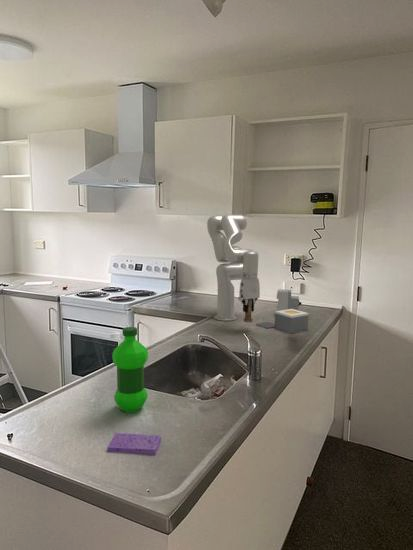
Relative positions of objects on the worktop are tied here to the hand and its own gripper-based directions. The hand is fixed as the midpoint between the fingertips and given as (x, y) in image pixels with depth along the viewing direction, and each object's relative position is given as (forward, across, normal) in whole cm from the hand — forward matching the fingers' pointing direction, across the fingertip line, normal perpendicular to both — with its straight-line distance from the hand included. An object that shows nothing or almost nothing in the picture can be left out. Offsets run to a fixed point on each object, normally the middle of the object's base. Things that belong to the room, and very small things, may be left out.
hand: (248, 311), depth 213 cm
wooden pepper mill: (+5, 0, 0) cm, 5 cm away
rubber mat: (+11, +16, +2) cm, 19 cm away
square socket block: (+10, +22, -9) cm, 26 cm away
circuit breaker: (+12, +42, +13) cm, 45 cm away
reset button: (+6, +22, -9) cm, 24 cm away
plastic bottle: (+8, -85, -48) cm, 98 cm away
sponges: (+8, -93, -68) cm, 115 cm away
